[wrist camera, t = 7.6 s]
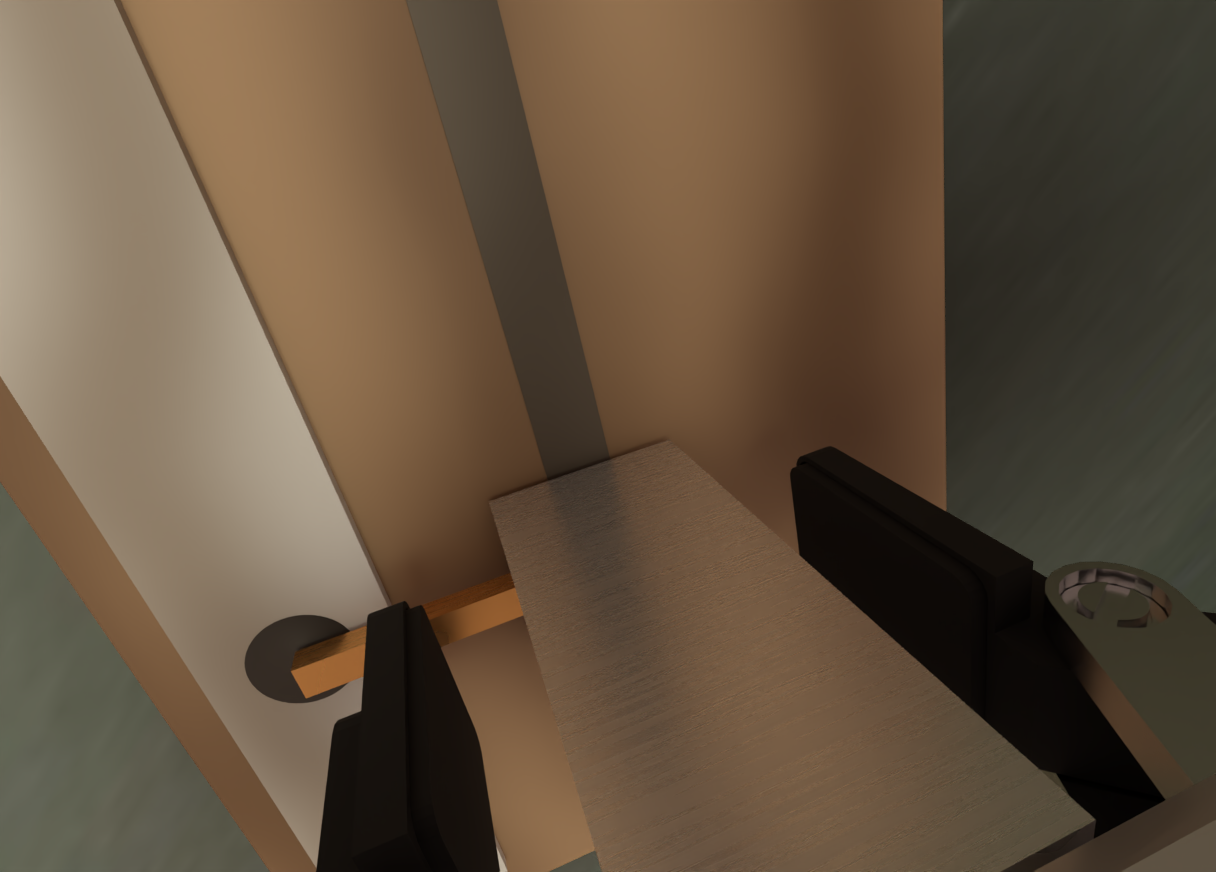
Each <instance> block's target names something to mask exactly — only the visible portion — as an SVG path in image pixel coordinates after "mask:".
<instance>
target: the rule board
mask: <svg viewBox="0 0 1216 872" xmlns="http://www.w3.org/2000/svg"><path fill="white" fill-rule="evenodd" d="M666 440H671V441H672V442H673V443H674V444H675V445H676V446H677V447H678V448H680V449H681V450H682V451H683V452H684V453H685V454H686V455H687V456H689V457H690V458H691V459H692V460H693V461H694V462H695V463H696V464H697V465H699V466H700V467H701V468H702V469H703V470H704V471H705V472H706V473H708V474H709V475H710V476H711V477H712V478H713V479H714V480H715V481H717V482H718V483H719V484H720V485H721V486H722V487H723V488H724V489H726V490H727V491H728V492H729V493H730V494H731V495H732V496H733V497H734V498H736V499H737V500H738V501H739V502H740V503H741V504H742V505H743V506H745V507H746V508H747V509H748V510H749V511H750V512H751V513H752V514H754V515H755V516H756V517H757V518H758V519H759V520H760V521H761V522H763V523H764V524H765V525H766V526H767V527H768V528H769V529H770V530H771V531H773V532H774V533H775V534H776V535H777V536H778V537H779V538H780V539H782V540H783V541H784V542H785V543H786V544H787V545H788V546H789V547H791V548H792V549H793V550H794V551H795V552H796V553H797V554H798V555H799V548H798V539H797V531H796V523H795V514H794V506H793V498H792V489H791V481H790V472H791V469H792V468H794V467H796V463H797V459H798V458H799V457H800V456H803V455H805V454H808V453H811V452H814V451H816V450H819V449H822V448H825V447H828V446H832V447H835V448H837V449H838V450H840V451H842V452H844V453H845V454H847V455H849V456H850V457H852V458H854V459H856V460H857V461H859V462H861V463H863V464H864V465H866V466H868V467H870V468H871V469H873V470H875V471H877V472H878V473H880V474H882V475H884V476H885V477H887V478H889V479H890V480H892V481H894V482H896V483H897V484H899V485H901V486H903V487H904V488H906V489H908V490H910V491H911V492H913V493H915V494H917V495H918V496H920V497H922V498H924V499H925V500H927V501H929V502H931V503H932V504H934V505H936V506H937V507H939V508H941V509H943V510H944V511H946V392H945V262H944V131H943V1H942V0H0V482H1V483H2V485H3V486H4V488H5V489H6V491H7V492H8V493H9V495H10V496H11V498H12V499H13V501H14V502H15V504H16V505H17V507H18V508H19V509H20V511H21V512H22V514H23V515H24V517H25V518H26V520H27V521H28V522H29V524H30V525H31V527H32V528H33V530H34V531H35V533H36V534H37V535H38V537H39V538H40V540H41V541H42V543H43V544H44V546H45V547H46V548H47V550H48V551H49V553H50V554H51V556H52V557H53V559H54V560H55V561H56V563H57V564H58V566H59V567H60V569H61V570H62V572H63V573H64V574H65V576H66V577H67V579H68V580H69V582H70V583H71V585H72V586H73V587H74V589H75V590H76V592H77V593H78V595H79V596H80V598H81V599H82V600H83V602H84V603H85V605H86V606H87V608H88V609H89V611H90V612H91V614H92V615H93V616H94V618H95V619H96V621H97V622H98V624H99V625H100V627H101V628H102V629H103V631H104V632H105V634H106V635H107V637H108V638H109V640H110V641H111V642H112V644H113V645H114V647H115V648H116V650H117V651H118V653H119V654H120V655H121V657H122V658H123V660H124V661H125V663H126V664H127V666H128V667H129V668H130V670H131V671H132V673H133V674H134V676H135V677H136V679H137V680H138V681H139V683H140V684H141V686H142V687H143V689H144V690H145V692H146V693H147V694H148V696H149V697H150V699H151V700H152V702H153V703H154V705H155V706H156V707H157V709H158V710H159V712H160V713H161V715H162V716H163V718H164V719H165V721H166V722H167V723H168V725H169V726H170V728H171V729H172V731H173V732H174V734H175V735H176V736H177V738H178V739H179V741H180V742H181V744H182V745H183V747H184V748H185V749H186V751H187V752H188V754H189V755H190V757H191V758H192V760H193V761H194V762H195V764H196V765H197V767H198V768H199V770H200V771H201V773H202V774H203V775H204V777H205V778H206V780H207V781H208V783H209V784H210V786H211V787H212V788H213V790H214V791H215V793H216V794H217V796H218V797H219V799H220V800H221V801H222V803H223V804H224V806H225V807H226V809H227V810H228V812H229V813H230V814H231V816H232V817H233V819H234V820H235V822H236V823H237V825H238V826H239V828H240V829H241V830H242V832H243V833H244V835H245V836H246V838H247V839H248V841H249V842H250V843H251V845H252V846H253V848H254V849H255V851H256V852H257V854H258V855H259V856H260V858H261V859H262V861H263V862H264V864H265V865H266V867H267V868H268V869H269V871H270V872H316V868H317V859H318V851H319V842H320V834H321V825H322V817H323V808H324V799H325V791H326V782H327V774H328V765H329V757H330V748H331V739H332V732H333V728H334V724H335V723H336V722H337V720H339V719H342V718H344V717H347V716H349V715H352V714H354V713H357V712H360V711H361V704H362V689H363V677H361V678H358V679H356V680H353V681H351V682H348V683H345V684H343V685H340V686H338V687H335V688H332V689H330V690H327V691H324V692H322V693H319V694H317V695H314V696H311V697H309V698H305V696H304V694H303V692H302V691H301V689H300V687H299V685H298V683H297V682H296V680H295V678H294V676H293V674H292V673H291V668H292V664H293V659H294V655H295V652H296V651H299V650H301V649H304V648H307V647H309V646H312V645H315V644H318V643H320V642H323V641H326V640H328V639H331V638H334V637H337V636H339V635H342V634H345V633H347V632H350V631H353V630H356V629H358V628H361V627H364V626H366V625H367V617H368V614H370V613H372V612H375V611H378V610H381V609H383V608H386V607H389V606H392V605H394V604H397V603H400V602H402V601H406V602H407V604H408V605H409V607H410V609H411V608H414V607H416V606H419V605H424V604H426V603H429V602H432V601H434V600H437V599H440V598H443V597H445V596H448V595H451V594H453V593H456V592H459V591H462V590H464V589H467V588H470V587H472V586H475V585H478V584H481V583H483V582H486V581H489V580H491V579H494V578H497V577H500V576H502V575H505V574H508V573H510V569H509V566H508V563H507V559H506V556H505V553H504V550H503V546H502V543H501V540H500V536H499V533H498V530H497V527H496V523H495V520H494V517H493V514H492V510H491V507H490V504H489V501H492V500H495V499H498V498H501V497H504V496H506V495H509V494H512V493H515V492H518V491H521V490H524V489H527V488H530V487H533V486H535V485H538V484H541V483H544V482H547V481H550V480H553V479H556V478H559V477H562V476H565V475H567V474H570V473H573V472H576V471H579V470H582V469H585V468H588V467H591V466H594V465H597V464H599V463H602V462H605V461H608V460H611V459H614V458H617V457H620V456H623V455H626V454H628V453H631V452H634V451H637V450H640V449H643V448H646V447H649V446H652V445H655V444H658V443H660V442H663V441H666ZM441 649H442V652H443V654H444V656H445V659H446V661H447V663H448V666H449V668H450V670H451V673H452V675H453V678H454V680H455V682H456V685H457V687H458V689H459V692H460V694H461V696H462V699H463V701H464V703H465V706H466V708H467V711H468V713H469V715H470V718H471V720H472V722H473V725H474V727H475V730H476V733H477V736H478V739H479V742H480V747H481V751H482V757H483V764H484V770H485V777H486V783H487V790H488V796H489V802H490V809H491V815H492V822H493V828H494V835H495V841H496V847H497V854H498V860H499V867H500V872H549V871H551V870H553V869H555V868H557V867H560V866H562V865H564V864H566V863H568V862H570V861H572V860H575V859H577V858H579V857H581V856H583V855H585V854H588V853H590V852H592V851H594V850H595V847H594V844H593V841H592V837H591V834H590V831H589V828H588V824H587V821H586V818H585V815H584V811H583V808H582V805H581V801H580V798H579V795H578V792H577V788H576V785H575V782H574V779H573V775H572V772H571V769H570V765H569V762H568V759H567V756H566V752H565V749H564V746H563V743H562V739H561V736H560V733H559V729H558V726H557V723H556V720H555V716H554V713H553V710H552V707H551V703H550V700H549V697H548V693H547V690H546V687H545V684H544V680H543V677H542V674H541V671H540V667H539V664H538V661H537V657H536V654H535V651H534V648H533V644H532V641H531V638H530V635H529V631H528V628H527V625H526V622H525V618H524V615H523V616H520V617H518V618H515V619H513V620H510V621H507V622H505V623H502V624H500V625H497V626H494V627H492V628H489V629H487V630H484V631H481V632H479V633H476V634H473V635H471V636H468V637H466V638H463V639H460V640H458V641H455V642H453V643H450V644H447V645H445V646H442V647H441Z"/></svg>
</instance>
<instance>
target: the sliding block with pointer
mask: <svg viewBox="0 0 1216 872" xmlns="http://www.w3.org/2000/svg"><path fill="white" fill-rule="evenodd" d="M489 504H490V507H491V510H492V514H493V517H494V520H495V523H496V527H497V530H498V533H499V536H500V540H501V543H502V546H503V550H504V553H505V556H506V559H507V563H508V566H509V569H510V573H508V574H505V575H502V576H500V577H497V578H494V579H491V580H489V581H486V582H483V583H481V584H478V585H475V586H472V587H470V588H467V589H464V590H462V591H459V592H456V593H453V594H451V595H448V596H445V597H443V598H440V599H437V600H434V601H432V602H429V603H426V604H424V605H422V606H423V608H424V610H425V612H426V614H427V616H428V619H429V621H430V623H431V626H432V628H433V630H434V633H435V635H436V637H437V640H438V642H439V645H440V647H442V646H445V645H447V644H450V643H453V642H455V641H458V640H460V639H463V638H466V637H468V636H471V635H473V634H476V633H479V632H481V631H484V630H487V629H489V628H492V627H494V626H497V625H500V624H502V623H505V622H507V621H510V620H513V619H515V618H518V617H520V616H523V615H524V618H525V622H526V625H527V628H528V631H529V635H530V638H531V641H532V644H533V648H534V651H535V654H536V657H537V661H538V664H539V667H540V671H541V674H542V677H543V680H544V684H545V687H546V690H547V693H548V697H549V700H550V703H551V707H552V710H553V713H554V716H555V720H556V723H557V726H558V729H559V733H560V736H561V739H562V743H563V746H564V749H565V752H566V756H567V759H568V762H569V765H570V769H571V772H572V775H573V779H574V782H575V785H576V788H577V792H578V795H579V798H580V801H581V805H582V808H583V811H584V815H585V818H586V821H587V824H588V828H589V831H590V834H591V837H592V841H593V844H594V847H595V850H596V854H597V857H598V860H599V864H600V867H601V870H602V872H1034V871H1035V870H1037V869H1039V868H1041V867H1043V866H1045V865H1046V864H1048V863H1050V862H1052V861H1054V860H1056V859H1057V858H1059V857H1061V856H1063V855H1065V854H1067V853H1069V852H1070V851H1072V850H1074V849H1076V848H1078V847H1080V846H1082V845H1083V844H1085V843H1087V842H1089V841H1091V840H1093V839H1094V831H1095V824H1096V820H1095V819H1094V818H1093V817H1092V816H1091V815H1090V814H1089V813H1088V812H1086V811H1085V810H1084V809H1083V808H1082V807H1081V806H1080V805H1079V804H1078V803H1076V802H1075V801H1074V800H1073V799H1072V798H1071V797H1070V796H1069V795H1067V794H1066V793H1065V792H1064V791H1063V790H1062V789H1061V788H1060V787H1058V786H1057V785H1056V784H1055V783H1054V782H1053V781H1052V780H1051V779H1049V778H1048V777H1047V776H1046V775H1045V774H1044V773H1043V772H1042V771H1041V770H1039V769H1038V768H1037V767H1036V766H1035V765H1034V764H1033V763H1032V762H1030V761H1029V760H1028V759H1027V758H1026V757H1025V756H1024V755H1023V754H1021V753H1020V752H1019V751H1018V750H1017V749H1016V748H1015V747H1014V746H1012V745H1011V744H1010V743H1009V742H1008V741H1007V740H1006V739H1005V738H1004V737H1002V736H1001V735H1000V734H999V733H998V732H997V731H996V730H995V729H993V728H992V727H991V726H990V725H989V724H988V723H987V722H986V721H984V720H983V719H982V718H981V717H980V716H979V715H978V714H977V713H975V712H974V711H973V710H972V709H971V708H970V707H969V706H968V705H967V704H965V703H964V702H963V701H962V700H961V699H960V698H959V697H958V696H956V695H955V694H954V693H953V692H952V691H951V690H950V689H949V688H947V687H946V686H945V685H944V684H943V683H942V682H941V681H940V680H939V679H937V678H936V677H935V676H934V675H933V674H932V673H931V672H930V671H928V670H927V669H926V668H925V667H924V666H923V665H922V664H921V663H919V662H918V661H917V660H916V659H915V658H914V657H913V656H912V655H910V654H909V653H908V652H907V651H906V650H905V649H904V648H903V647H902V646H900V645H899V644H898V643H897V642H896V641H895V640H894V639H893V638H891V637H890V636H889V635H888V634H887V633H886V632H885V631H884V630H882V629H881V628H880V627H879V626H878V625H877V624H876V623H875V622H873V621H872V620H871V619H870V618H869V617H868V616H867V615H866V614H865V613H863V612H862V611H861V610H860V609H859V608H858V607H857V606H856V605H854V604H853V603H852V602H851V601H850V600H849V599H848V598H847V597H845V596H844V595H843V594H842V593H841V592H840V591H839V590H838V589H836V588H835V587H834V586H833V585H832V584H831V583H830V582H829V581H828V580H826V579H825V578H824V577H823V576H822V575H821V574H820V573H819V572H817V571H816V570H815V569H814V568H813V567H812V566H811V565H810V564H808V563H807V562H806V561H805V560H804V559H803V558H802V557H801V556H799V555H798V554H797V553H796V552H795V551H794V550H793V549H792V548H791V547H789V546H788V545H787V544H786V543H785V542H784V541H783V540H782V539H780V538H779V537H778V536H777V535H776V534H775V533H774V532H773V531H771V530H770V529H769V528H768V527H767V526H766V525H765V524H764V523H763V522H761V521H760V520H759V519H758V518H757V517H756V516H755V515H754V514H752V513H751V512H750V511H749V510H748V509H747V508H746V507H745V506H743V505H742V504H741V503H740V502H739V501H738V500H737V499H736V498H734V497H733V496H732V495H731V494H730V493H729V492H728V491H727V490H726V489H724V488H723V487H722V486H721V485H720V484H719V483H718V482H717V481H715V480H714V479H713V478H712V477H711V476H710V475H709V474H708V473H706V472H705V471H704V470H703V469H702V468H701V467H700V466H699V465H697V464H696V463H695V462H694V461H693V460H692V459H691V458H690V457H689V456H687V455H686V454H685V453H684V452H683V451H682V450H681V449H680V448H678V447H677V446H676V445H675V444H674V443H673V442H672V441H671V440H666V441H663V442H660V443H658V444H655V445H652V446H649V447H646V448H643V449H640V450H637V451H634V452H631V453H628V454H626V455H623V456H620V457H617V458H614V459H611V460H608V461H605V462H602V463H599V464H597V465H594V466H591V467H588V468H585V469H582V470H579V471H576V472H573V473H570V474H567V475H565V476H562V477H559V478H556V479H553V480H550V481H547V482H544V483H541V484H538V485H535V486H533V487H530V488H527V489H524V490H521V491H518V492H515V493H512V494H509V495H506V496H504V497H501V498H498V499H495V500H492V501H489ZM366 628H367V625H366V626H364V627H361V628H358V629H356V630H353V631H350V632H347V633H345V634H342V635H339V636H337V637H334V638H331V639H328V640H326V641H323V642H320V643H318V644H315V645H312V646H309V647H307V648H304V649H301V650H299V651H296V652H295V655H294V659H293V664H292V668H291V673H292V674H293V676H294V678H295V680H296V682H297V683H298V685H299V687H300V689H301V691H302V692H303V694H304V696H305V698H309V697H311V696H314V695H317V694H319V693H322V692H324V691H327V690H330V689H332V688H335V687H338V686H340V685H343V684H345V683H348V682H351V681H353V680H356V679H358V678H361V677H363V674H364V659H365V643H366Z"/></svg>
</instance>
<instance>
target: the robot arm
mask: <svg viewBox="0 0 1216 872" xmlns="http://www.w3.org/2000/svg"><path fill="white" fill-rule="evenodd" d="M790 481H791V489H792V498H793V506H794V514H795V523H796V531H797V539H798V548H799V556H801V557H802V558H803V559H804V560H805V561H806V562H807V563H808V564H810V565H811V566H812V567H813V568H814V569H815V570H816V571H817V572H819V573H820V574H821V575H822V576H823V577H824V578H825V579H826V580H828V581H829V582H830V583H831V584H832V585H833V586H834V587H835V588H836V589H838V590H839V591H840V592H841V593H842V594H843V595H844V596H845V597H847V598H848V599H849V600H850V601H851V602H852V603H853V604H854V605H856V606H857V607H858V608H859V609H860V610H861V611H862V612H863V613H865V614H866V615H867V616H868V617H869V618H870V619H871V620H872V621H873V622H875V623H876V624H877V625H878V626H879V627H880V628H881V629H882V630H884V631H885V632H886V633H887V634H888V635H889V636H890V637H891V638H893V639H894V640H895V641H896V642H897V643H898V644H899V645H900V646H902V647H903V648H904V649H905V650H906V651H907V652H908V653H909V654H910V655H912V656H913V657H914V658H915V659H916V660H917V661H918V662H919V663H921V664H922V665H923V666H924V667H925V668H926V669H927V670H928V671H930V672H931V673H932V674H933V675H934V676H935V677H936V678H937V679H939V680H940V681H941V682H942V683H943V684H944V685H945V686H946V687H947V688H949V689H950V690H951V691H952V692H953V693H954V694H955V695H956V696H958V697H959V698H960V699H961V700H962V701H963V702H964V703H965V704H967V705H968V706H969V707H970V708H971V709H972V710H973V711H974V712H975V713H977V714H978V715H979V716H980V717H981V718H982V719H983V720H984V721H986V722H987V723H988V724H989V725H990V726H991V727H992V728H993V729H995V730H996V731H997V732H998V733H999V734H1000V735H1001V736H1002V737H1004V738H1005V739H1006V740H1007V741H1008V742H1009V743H1010V744H1011V745H1012V746H1014V747H1015V748H1016V749H1017V750H1018V751H1019V752H1020V753H1021V754H1023V755H1024V756H1025V757H1026V758H1027V759H1028V760H1029V761H1030V762H1032V763H1033V764H1034V765H1035V766H1036V767H1037V768H1038V769H1039V770H1041V771H1042V772H1043V773H1044V774H1045V775H1046V776H1047V777H1048V778H1049V779H1051V780H1052V781H1053V782H1054V783H1055V784H1056V785H1057V786H1058V787H1060V788H1061V789H1062V790H1063V791H1064V792H1065V793H1066V794H1067V795H1069V796H1070V797H1071V798H1072V799H1073V800H1074V801H1075V802H1076V803H1078V804H1079V805H1080V806H1081V807H1082V808H1083V809H1084V810H1085V811H1086V812H1088V813H1089V814H1090V815H1091V816H1092V817H1093V818H1094V819H1095V820H1096V824H1095V831H1094V839H1093V840H1091V841H1089V842H1087V843H1085V844H1083V845H1082V846H1080V847H1078V848H1076V849H1074V850H1072V851H1070V852H1069V853H1067V854H1065V855H1063V856H1061V857H1059V858H1057V859H1056V860H1054V861H1052V862H1050V863H1048V864H1046V865H1045V866H1043V867H1041V868H1039V869H1037V870H1035V871H1034V872H1216V613H1207V612H1201V611H1200V610H1199V609H1198V608H1197V607H1196V606H1195V605H1193V604H1192V603H1191V602H1190V601H1189V600H1188V599H1187V598H1186V597H1185V596H1184V595H1183V594H1181V593H1180V592H1179V591H1178V590H1177V589H1176V588H1174V587H1173V586H1171V585H1170V584H1169V583H1167V582H1166V581H1164V580H1163V579H1161V578H1159V577H1157V576H1155V575H1152V574H1150V573H1148V572H1146V571H1144V570H1141V569H1137V568H1133V567H1130V566H1126V565H1123V564H1116V563H1108V562H1101V561H1100V562H1078V563H1074V564H1069V565H1065V566H1063V567H1061V568H1059V569H1057V570H1055V571H1053V572H1052V573H1051V574H1050V576H1049V577H1048V578H1047V577H1045V576H1043V575H1042V574H1040V573H1038V572H1036V571H1035V570H1033V561H1031V560H1030V559H1028V558H1026V557H1024V556H1023V555H1021V554H1019V553H1017V552H1016V551H1014V550H1012V549H1011V548H1009V547H1007V546H1005V545H1004V544H1002V543H1000V542H998V541H997V540H995V539H993V538H991V537H990V536H988V535H986V534H984V533H983V532H981V531H979V530H977V529H976V528H974V527H972V526H971V525H969V524H967V523H965V522H964V521H962V520H960V519H958V518H957V517H955V516H953V515H951V514H950V513H948V512H946V511H944V510H943V509H941V508H939V507H937V506H936V505H934V504H932V503H931V502H929V501H927V500H925V499H924V498H922V497H920V496H918V495H917V494H915V493H913V492H911V491H910V490H908V489H906V488H904V487H903V486H901V485H899V484H897V483H896V482H894V481H892V480H890V479H889V478H887V477H885V476H884V475H882V474H880V473H878V472H877V471H875V470H873V469H871V468H870V467H868V466H866V465H864V464H863V463H861V462H859V461H857V460H856V459H854V458H852V457H850V456H849V455H847V454H845V453H844V452H842V451H840V450H838V449H837V448H835V447H832V446H828V447H825V448H822V449H819V450H816V451H814V452H811V453H808V454H805V455H803V456H800V457H799V458H798V459H797V463H796V467H794V468H792V469H791V472H790ZM316 872H500V867H499V860H498V854H497V847H496V841H495V835H494V828H493V822H492V815H491V809H490V802H489V796H488V790H487V783H486V777H485V770H484V764H483V757H482V751H481V747H480V742H479V739H478V736H477V733H476V730H475V727H474V725H473V722H472V720H471V718H470V715H469V713H468V711H467V708H466V706H465V703H464V701H463V699H462V696H461V694H460V692H459V689H458V687H457V685H456V682H455V680H454V678H453V675H452V673H451V670H450V668H449V666H448V663H447V661H446V659H445V656H444V654H443V652H442V649H441V647H440V645H439V642H438V640H437V637H436V635H435V633H434V630H433V628H432V626H431V623H430V621H429V619H428V616H427V614H426V612H425V610H424V608H423V606H422V605H419V606H416V607H414V608H411V609H410V607H409V605H408V604H407V602H406V601H402V602H400V603H397V604H394V605H392V606H389V607H386V608H383V609H381V610H378V611H375V612H372V613H370V614H368V617H367V628H366V643H365V659H364V674H363V689H362V704H361V711H360V712H357V713H354V714H352V715H349V716H347V717H344V718H342V719H339V720H337V722H336V723H335V724H334V728H333V732H332V739H331V748H330V757H329V765H328V774H327V782H326V791H325V799H324V808H323V817H322V825H321V834H320V842H319V851H318V859H317V868H316Z"/></svg>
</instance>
